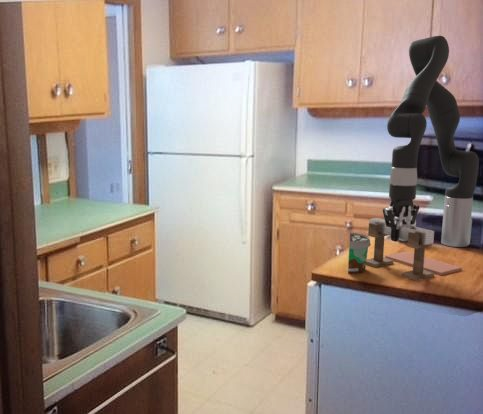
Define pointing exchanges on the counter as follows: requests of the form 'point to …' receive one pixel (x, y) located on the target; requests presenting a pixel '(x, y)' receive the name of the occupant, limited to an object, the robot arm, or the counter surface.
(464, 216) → the robot arm
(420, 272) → the cradle stands
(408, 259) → the rust mat
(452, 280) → the counter surface
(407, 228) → the steel rail
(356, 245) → the food container
